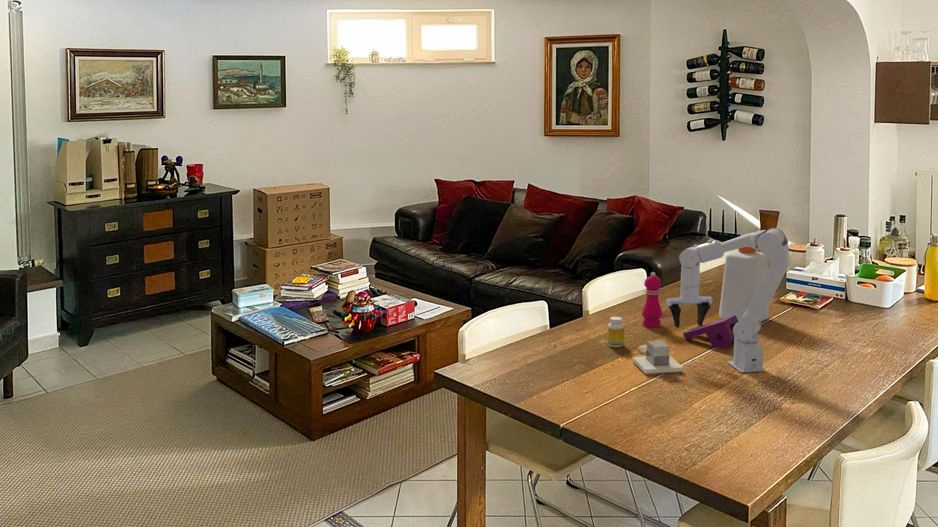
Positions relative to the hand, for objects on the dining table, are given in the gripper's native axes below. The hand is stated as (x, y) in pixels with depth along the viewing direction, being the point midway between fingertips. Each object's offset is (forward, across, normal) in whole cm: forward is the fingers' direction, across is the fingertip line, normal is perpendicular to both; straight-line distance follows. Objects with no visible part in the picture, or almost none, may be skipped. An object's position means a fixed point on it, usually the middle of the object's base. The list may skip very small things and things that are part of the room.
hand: (688, 326), depth 261 cm
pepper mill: (+11, -1, -36) cm, 38 cm away
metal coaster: (+10, +9, -8) cm, 16 cm away
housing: (+9, +13, +8) cm, 17 cm away
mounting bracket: (+11, -14, -14) cm, 23 cm away
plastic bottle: (+11, -37, -37) cm, 53 cm away
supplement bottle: (+11, +19, -16) cm, 27 cm away
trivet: (+10, +13, +8) cm, 18 cm away
